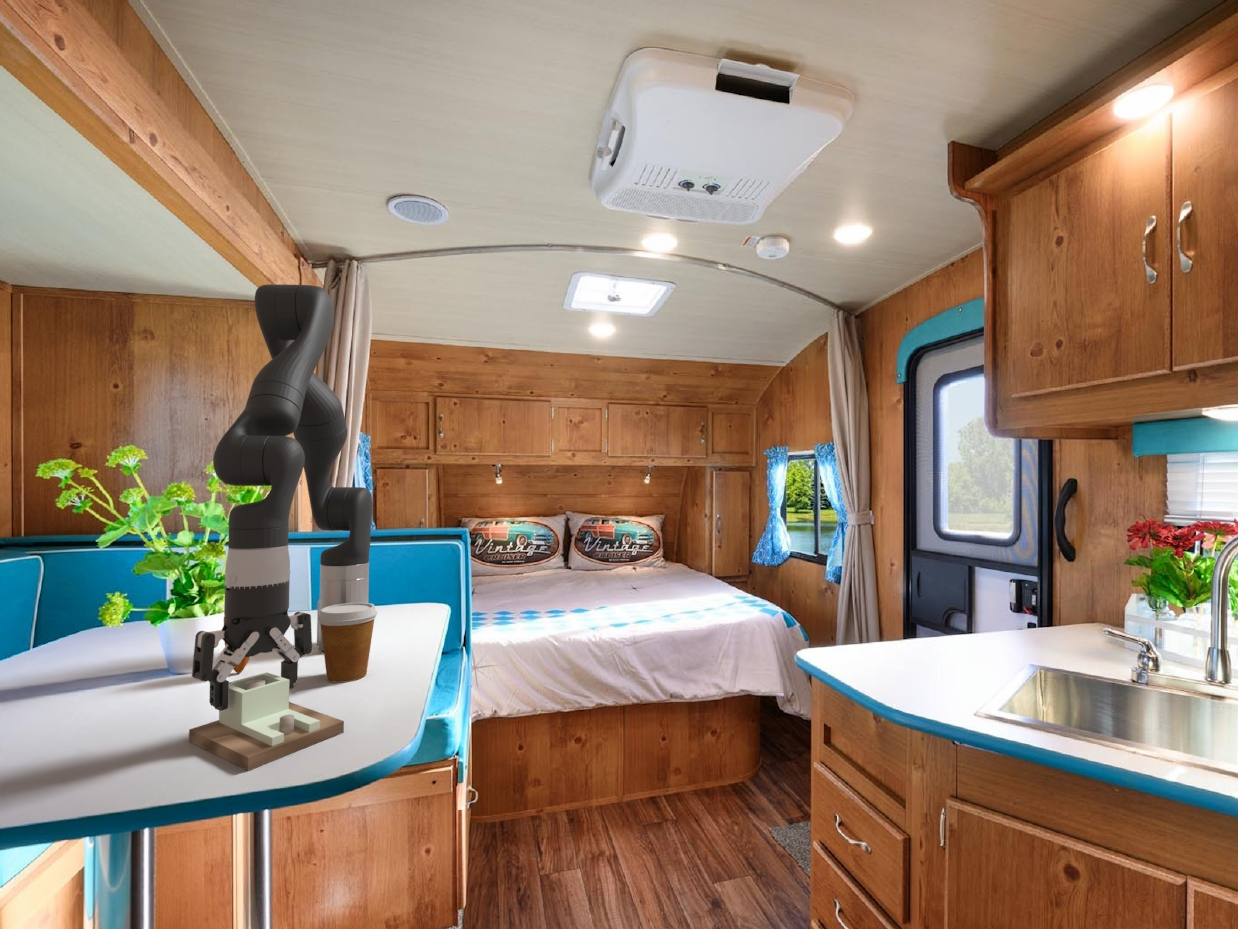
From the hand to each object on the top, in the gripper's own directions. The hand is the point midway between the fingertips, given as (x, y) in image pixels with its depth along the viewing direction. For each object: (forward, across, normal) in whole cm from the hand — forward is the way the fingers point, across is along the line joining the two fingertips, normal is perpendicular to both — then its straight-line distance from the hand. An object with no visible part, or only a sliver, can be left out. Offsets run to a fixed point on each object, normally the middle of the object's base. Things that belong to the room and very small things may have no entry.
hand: (255, 698), depth 77 cm
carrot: (+5, -11, -27) cm, 30 cm away
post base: (+4, 0, +4) cm, 6 cm away
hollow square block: (+3, 0, +4) cm, 5 cm away
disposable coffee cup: (+5, -20, -9) cm, 23 cm away
